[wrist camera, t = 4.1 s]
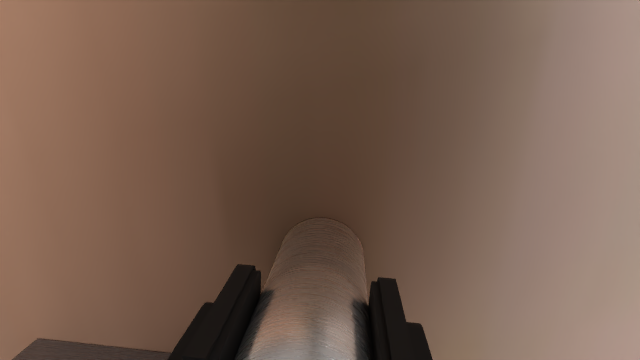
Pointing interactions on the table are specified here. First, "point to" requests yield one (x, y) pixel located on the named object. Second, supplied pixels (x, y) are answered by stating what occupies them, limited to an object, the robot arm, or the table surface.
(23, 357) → the block
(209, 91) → the table surface
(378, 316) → the robot arm
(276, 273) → the lynch pin
